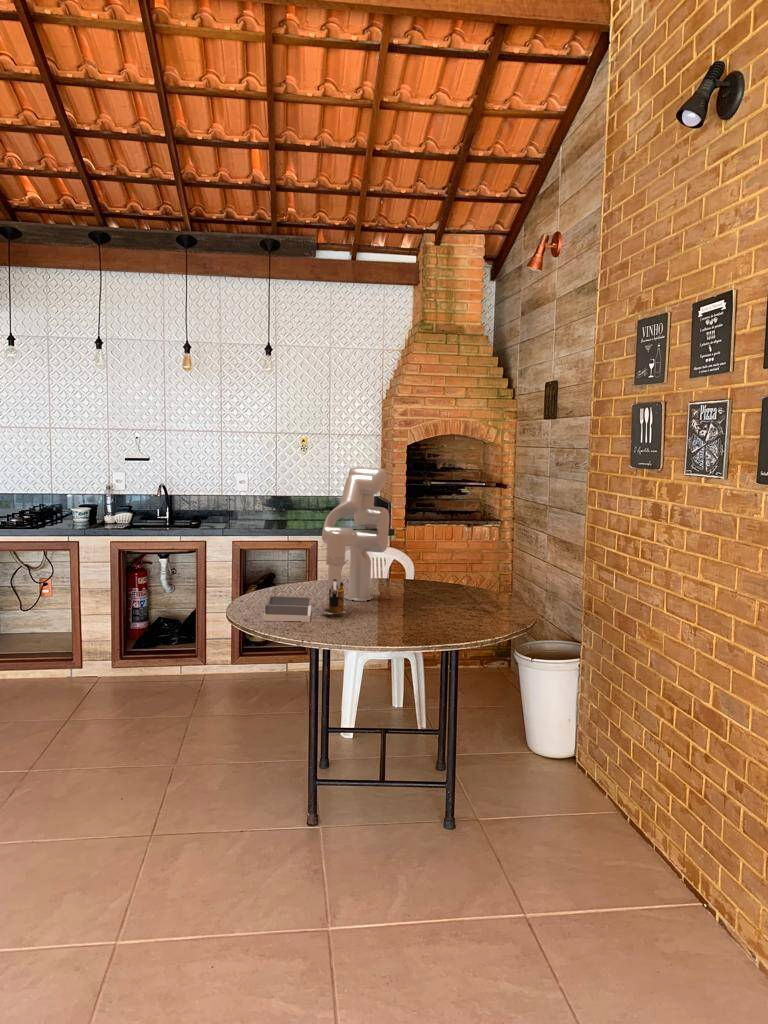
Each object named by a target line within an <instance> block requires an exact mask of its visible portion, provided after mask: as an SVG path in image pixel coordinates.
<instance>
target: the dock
mask: <svg viewBox="0 0 768 1024" xmlns="http://www.w3.org/2000/svg"><path fill="white" fill-rule="evenodd" d="M263 612H264V613H263V617H262V621H263V622H284V621H301V622H300V623H310V622H311V617H310V616H311V615H312V605H310V596H309V597H308V596H286V595H285V596H282V595H268V597H267V599H266V603H265V604H264V611H263Z"/></svg>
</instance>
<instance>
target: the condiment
mask: <svg viewBox="0 0 768 1024" xmlns="http://www.w3.org/2000/svg"><path fill="white" fill-rule="evenodd" d="M336 584H337V582H336ZM332 589H333V588H332ZM336 589H337V588H336ZM332 592H333V591H332ZM330 596H331V589H329V590H328V608H326V609H325V608H322V609H320V610H321V611H322V612H323V613H325V614H327V615H333V614H334V615H335V614H346V613H347V611H346V610H344V603H345V602H344V600H345V589H344V582H342V581H341V583H340V589H339V590H338V607H332V606H330ZM336 597H337V596H336Z"/></svg>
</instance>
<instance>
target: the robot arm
mask: <svg viewBox="0 0 768 1024" xmlns="http://www.w3.org/2000/svg"><path fill="white" fill-rule="evenodd" d="M387 481H388V474H387V471H386V470H385V469H384V468H377V467H364V466H363V467H362V466H359V467H358V466H354V467H352V468H351V467H350V469H349V471H348V475H347V477H346V481H345V483H344V487H343V491H342V496H341V500H340V503H339V504H338V505H337V506H336V507H334V508H333V509H332V510H331V511H330V512H329V514H327V516H326V518H325V520H324V523H323V526H322V531H321V540H322V542H323V543H324V544H325V545H326V562H325V564H326V565H327V566H328V570H327V590H328V591H329V589H331V596H330V606H332V607H338V590H339V589H340V583H341V582H342V572H343V571H342V569H343V566H345V565H346V547H349V552H350V553H349V555H350V556H349V557H350V558H349V560H350V561H349V576H348V577H349V581H348V593H347V594H344V599H346V600H348V601H352V600H354V602H368V601H367V600H370V601H372V600H373V598H374V597H373V596H375V597H376V596H378V597H379V596H380V594H381V592H380V591H377V590H371V571H372V559H371V557H370V555H369V554H368V552H370V553H385V551H386V550H387V548H388V541H389V532H390V530H389V529H390V512H389V510H388V508H385V507H383V506H382V507H381V506H375V495H377V494H378V493H380V492H381V490H383V488H384V487H385V486H386V484H387ZM353 514H354V516H353V519H354V521H353V522H354V524H355V526H357V527H362V528H363V527H364V528H371V529H372V528H375V529H377V530H370V529H355V530H354V529H353V528H350V527H341V526H334V525H335V524H336V522H337V521H339V520H340V519H343V518H344V517H345V518H346V517H347V516H350V515H353ZM336 582H337V584H336ZM332 588H333V589H332ZM336 588H337V589H336ZM332 591H333V592H332ZM336 596H337V597H336ZM371 599H372V600H371Z"/></svg>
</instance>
